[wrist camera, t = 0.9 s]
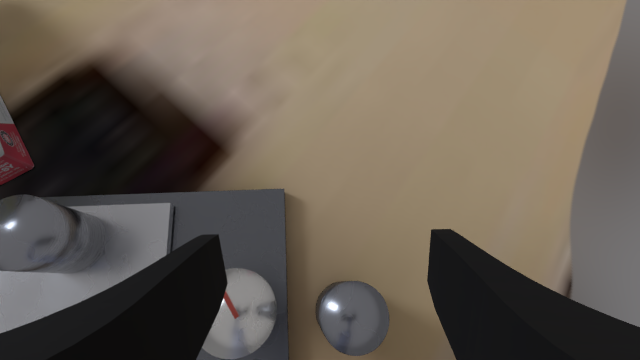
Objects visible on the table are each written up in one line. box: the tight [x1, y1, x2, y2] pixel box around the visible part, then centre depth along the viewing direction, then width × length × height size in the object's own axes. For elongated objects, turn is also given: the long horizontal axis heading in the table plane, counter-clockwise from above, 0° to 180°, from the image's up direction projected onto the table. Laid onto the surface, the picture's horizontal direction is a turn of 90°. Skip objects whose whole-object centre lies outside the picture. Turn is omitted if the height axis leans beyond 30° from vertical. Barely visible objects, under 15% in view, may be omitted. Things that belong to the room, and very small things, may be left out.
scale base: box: [1, 189, 289, 360], centre depth 22 cm, size 14×20×2 cm
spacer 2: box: [316, 281, 389, 356], centre depth 21 cm, size 4×4×5 cm
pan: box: [0, 203, 174, 333], centre depth 21 cm, size 12×12×1 cm
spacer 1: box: [0, 195, 106, 274], centre depth 20 cm, size 4×4×5 cm
